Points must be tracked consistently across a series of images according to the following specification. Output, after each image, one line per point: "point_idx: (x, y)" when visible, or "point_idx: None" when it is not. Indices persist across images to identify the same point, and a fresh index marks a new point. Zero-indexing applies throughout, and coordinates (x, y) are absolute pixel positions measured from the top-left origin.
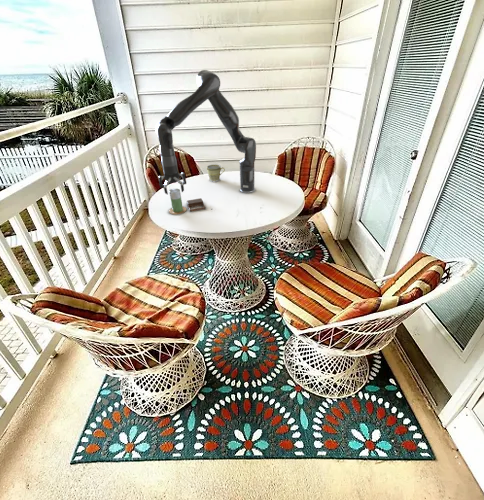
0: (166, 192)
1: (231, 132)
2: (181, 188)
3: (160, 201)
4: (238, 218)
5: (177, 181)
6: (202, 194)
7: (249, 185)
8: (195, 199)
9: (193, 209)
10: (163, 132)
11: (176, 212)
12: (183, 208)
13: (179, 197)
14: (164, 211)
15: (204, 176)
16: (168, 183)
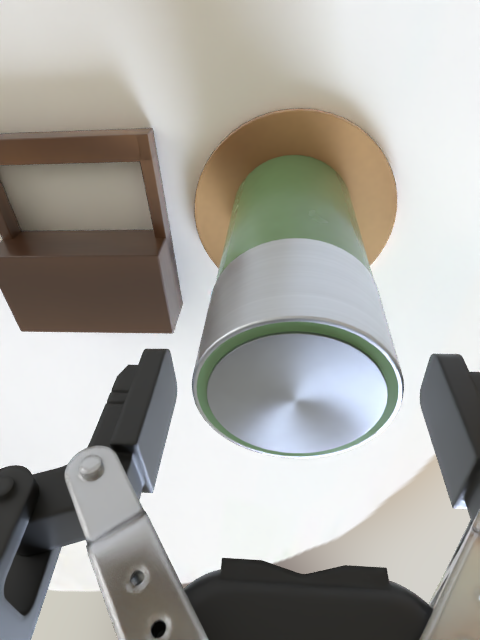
0: (468, 382)
1: None
2: (148, 400)
3: (400, 432)
4: None
5: (166, 579)
6: (56, 423)
7: None
8: (79, 325)
9: (103, 138)
10: None
11: (320, 156)
12: (225, 230)
13: (236, 264)
14: (437, 248)
15: (73, 581)
16: (458, 575)
